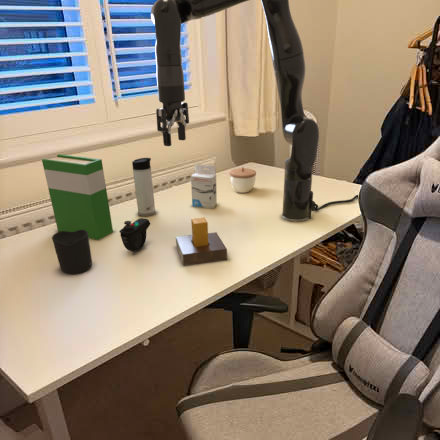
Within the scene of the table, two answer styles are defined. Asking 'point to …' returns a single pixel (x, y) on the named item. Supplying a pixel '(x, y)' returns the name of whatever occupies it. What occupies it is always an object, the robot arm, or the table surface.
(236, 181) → the trinket box
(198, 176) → the ink box
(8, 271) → the table surface
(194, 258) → the walnut stand
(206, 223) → the ochre peg
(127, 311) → the table surface
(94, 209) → the hardback book
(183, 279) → the table surface
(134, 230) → the controller
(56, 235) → the pen holder
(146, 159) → the travel mug
